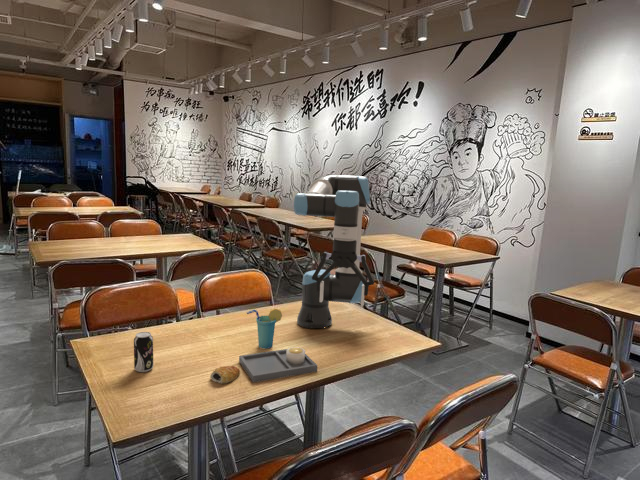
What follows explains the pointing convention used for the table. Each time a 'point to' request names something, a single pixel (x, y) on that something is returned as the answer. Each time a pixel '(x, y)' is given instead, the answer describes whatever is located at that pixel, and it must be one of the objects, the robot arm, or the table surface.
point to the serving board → (277, 364)
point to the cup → (266, 327)
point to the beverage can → (143, 352)
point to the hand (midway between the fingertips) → (341, 303)
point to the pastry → (225, 374)
